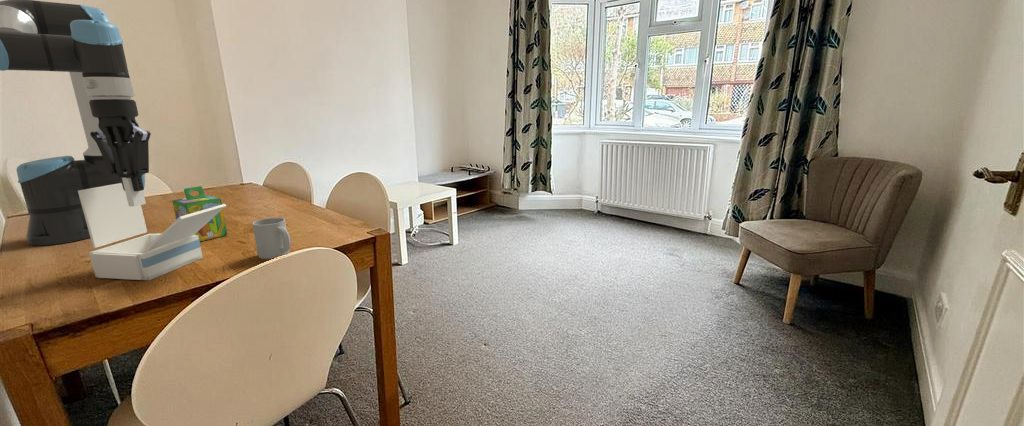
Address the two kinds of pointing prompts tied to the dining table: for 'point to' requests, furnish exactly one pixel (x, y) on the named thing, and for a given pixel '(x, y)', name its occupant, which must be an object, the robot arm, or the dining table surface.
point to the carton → (144, 258)
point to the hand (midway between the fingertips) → (137, 204)
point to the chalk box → (198, 203)
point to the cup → (271, 237)
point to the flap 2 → (185, 226)
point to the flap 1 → (110, 215)
